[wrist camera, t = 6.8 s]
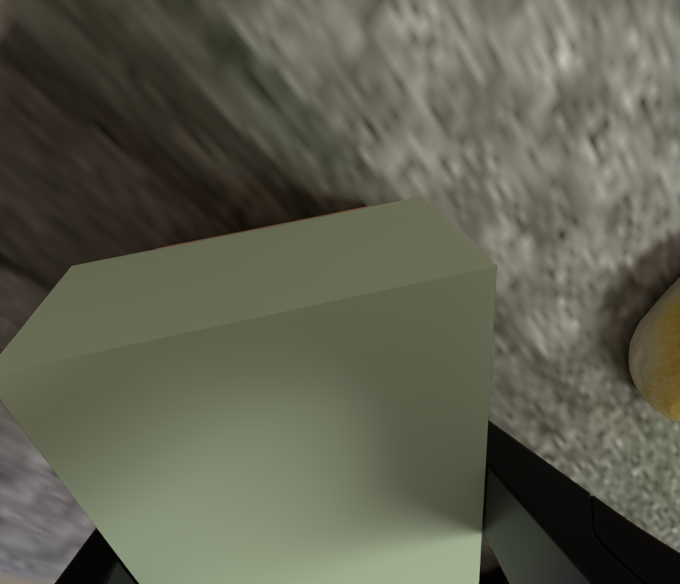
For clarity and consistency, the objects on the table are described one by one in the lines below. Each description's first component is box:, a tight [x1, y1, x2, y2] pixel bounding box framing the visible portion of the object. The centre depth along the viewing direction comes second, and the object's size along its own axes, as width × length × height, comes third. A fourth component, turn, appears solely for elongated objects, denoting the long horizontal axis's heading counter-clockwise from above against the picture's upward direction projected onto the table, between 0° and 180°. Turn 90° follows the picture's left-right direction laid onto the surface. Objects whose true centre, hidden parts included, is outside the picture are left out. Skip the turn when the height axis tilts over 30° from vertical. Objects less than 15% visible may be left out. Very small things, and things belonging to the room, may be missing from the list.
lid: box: [0, 197, 497, 584], centre depth 9 cm, size 10×6×3 cm, turn 8°
